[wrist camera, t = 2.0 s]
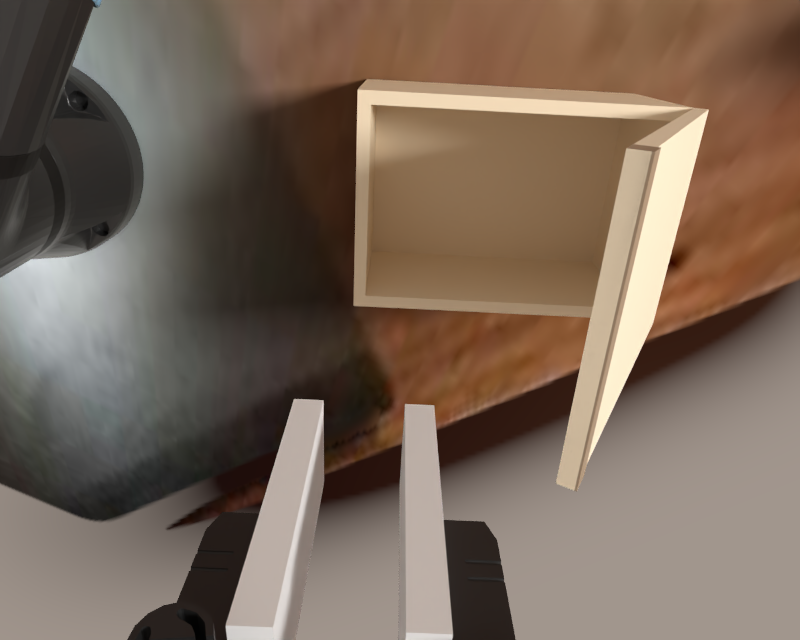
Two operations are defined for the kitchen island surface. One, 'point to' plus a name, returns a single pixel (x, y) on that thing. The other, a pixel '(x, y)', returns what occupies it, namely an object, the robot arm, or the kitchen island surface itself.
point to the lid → (630, 278)
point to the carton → (489, 193)
